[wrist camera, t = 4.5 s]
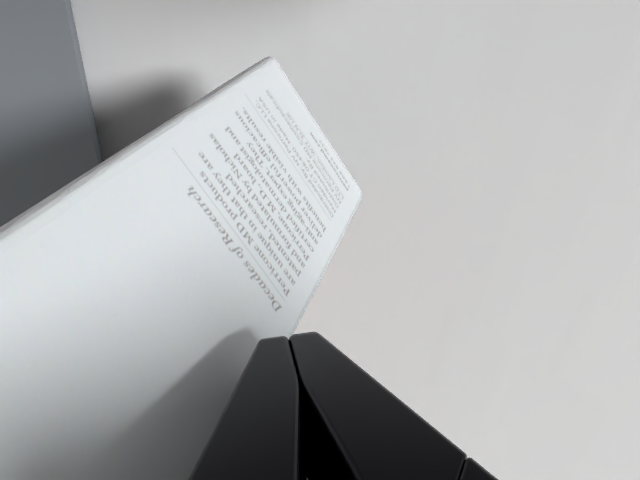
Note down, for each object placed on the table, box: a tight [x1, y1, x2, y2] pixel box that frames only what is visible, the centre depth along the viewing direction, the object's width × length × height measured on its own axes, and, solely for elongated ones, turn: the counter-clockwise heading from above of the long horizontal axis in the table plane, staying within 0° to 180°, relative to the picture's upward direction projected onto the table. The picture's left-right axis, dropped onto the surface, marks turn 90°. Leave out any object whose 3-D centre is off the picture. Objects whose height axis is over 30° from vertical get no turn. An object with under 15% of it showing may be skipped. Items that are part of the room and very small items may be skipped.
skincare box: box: [0, 57, 362, 480], centre depth 11 cm, size 6×4×12 cm
